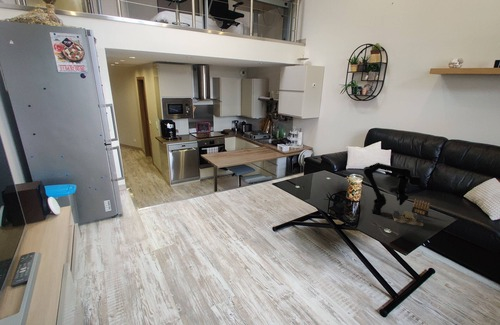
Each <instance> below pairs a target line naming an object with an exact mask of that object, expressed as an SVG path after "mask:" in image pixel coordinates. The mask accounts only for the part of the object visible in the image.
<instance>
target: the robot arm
mask: <svg viewBox="0 0 500 325" xmlns="http://www.w3.org/2000/svg"><path fill="white" fill-rule="evenodd" d="M379 170H382V171H388V172H393V173H395V174H397V175H396V178H397V179H398V183H396V185H391V186H388V191H389V192H390V193H395V194H396V201H399V206H402V205H403V204H404V203H405V202H406V201H407V200H408V199H409V195H408V194H407V189H408V184H409V186H417V187H419V186H420V185H421V177H420V176H414V175H412V174H411V171H410V169H409V167H406V166H395V165H389V164H385V163H381V162H376V163H374V164H372V165H371V164H370V165H369V166H365V167H363V170H362V171H363V174H364V175H365V177H366V178H367V180H368V181H369V183H370V186H371V188H372V189H373V192H374V194H375V197H376V198H375V199H373V203H374V204H373V208H372V209H371V213H372V214H373V215H374V214H375V215H380V216H381V215H382V208H383V207H384V206H385V205H386V204H387V197H386V196H385V194H384V193H381V191H380V189H379V187H378V184H377V182H376V180H375V178H374V174H373V173H375V172H376V171H379Z"/></svg>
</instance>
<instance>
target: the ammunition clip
mask: <svg viewBox="0 0 500 325" xmlns="http://www.w3.org/2000/svg"><path fill="white" fill-rule="evenodd" d="M429 210H430V202H428V201H426V202H425V201H424V200H422V199H418V200H417V198H415V199H414V202H413V204H412V209H411V212H412V213H413V214H415V215H417V214H420V215H422V216H423V217H425V218H428V217H429V212H430V211H429Z"/></svg>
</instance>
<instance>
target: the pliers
mask: <svg viewBox="0 0 500 325" xmlns="http://www.w3.org/2000/svg"><path fill="white" fill-rule="evenodd" d="M369 224H371V225H372V226H374V227H376V228H377V229H378V230H380V233H381V234H383V235H384V236H386V237H387V238H390V236H388V235H387V234H385V233H384V232H383V230H385V231H390V232H392V233H394V234H395V235H396V236H399V233H398V232H395V231H393V230H391V229H388V228H385V227H383V226H382V225H380V224H379V223H377V222H376V221H372V222H371V221H370V222H369ZM382 229H383V230H382Z"/></svg>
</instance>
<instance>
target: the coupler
mask: <svg viewBox="0 0 500 325" xmlns="http://www.w3.org/2000/svg"><path fill="white" fill-rule="evenodd" d="M402 214H403V218H404V219H410V220H412V219H413V217H414V213H412V211H407V210H403V213H402Z"/></svg>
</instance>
